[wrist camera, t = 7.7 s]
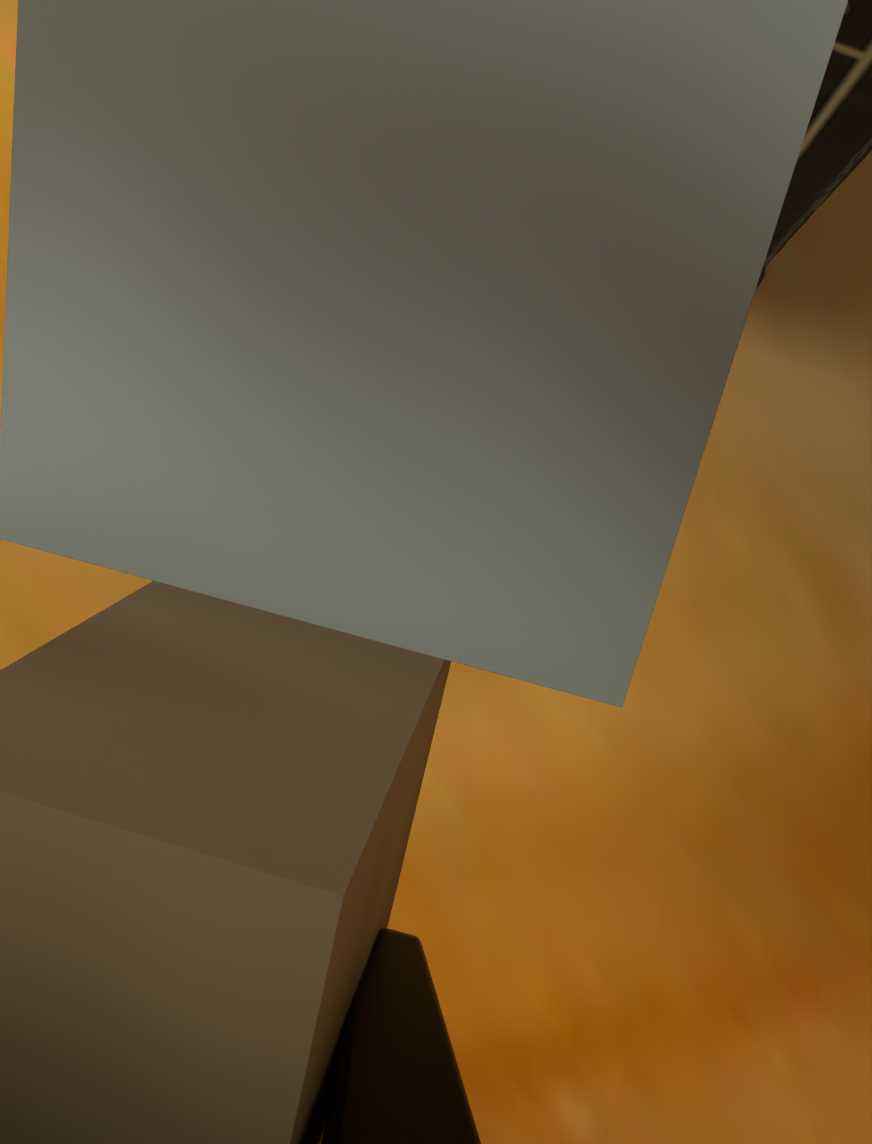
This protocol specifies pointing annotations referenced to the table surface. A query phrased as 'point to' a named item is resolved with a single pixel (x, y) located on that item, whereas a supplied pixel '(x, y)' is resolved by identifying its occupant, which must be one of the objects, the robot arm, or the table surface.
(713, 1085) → the table surface
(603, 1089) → the table surface
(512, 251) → the turner
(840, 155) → the small box
